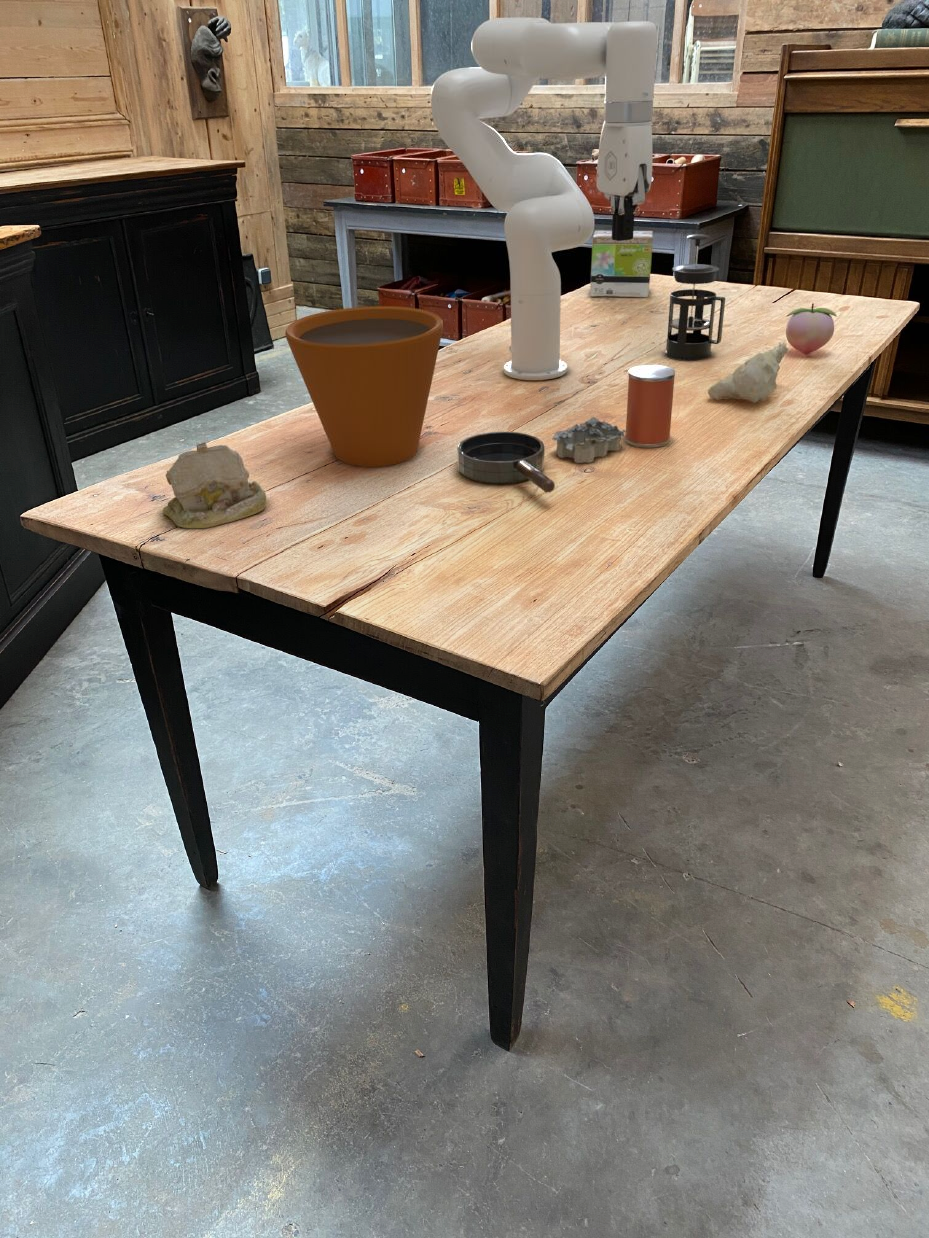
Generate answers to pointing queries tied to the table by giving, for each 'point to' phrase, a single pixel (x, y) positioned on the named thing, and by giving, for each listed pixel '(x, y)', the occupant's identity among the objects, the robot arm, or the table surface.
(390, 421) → the flower pot
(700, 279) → the french press
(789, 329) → the decorative fruit
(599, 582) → the table surface
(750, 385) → the holed limestone rock
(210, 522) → the ceramic model
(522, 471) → the pan handle
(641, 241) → the tea box
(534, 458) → the black pan
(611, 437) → the egg carton
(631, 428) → the tin can
